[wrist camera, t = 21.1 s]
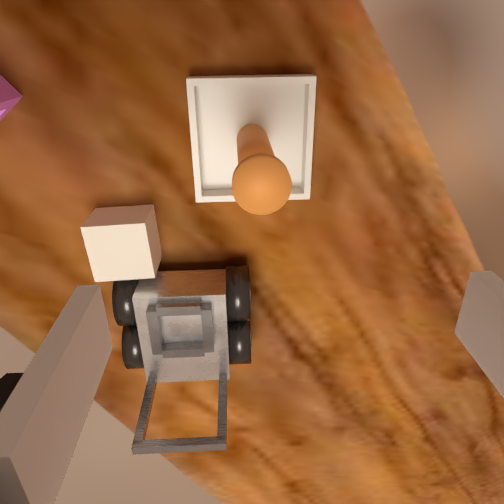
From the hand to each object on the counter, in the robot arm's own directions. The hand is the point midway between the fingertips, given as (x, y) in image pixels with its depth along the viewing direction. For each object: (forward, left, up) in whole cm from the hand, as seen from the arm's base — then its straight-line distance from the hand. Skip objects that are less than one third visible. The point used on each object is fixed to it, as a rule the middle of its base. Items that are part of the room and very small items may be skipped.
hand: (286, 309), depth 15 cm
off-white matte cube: (+10, -13, -29) cm, 33 cm away
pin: (0, 0, -28) cm, 28 cm away
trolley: (+19, -7, -29) cm, 35 cm away
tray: (0, 0, -29) cm, 29 cm away
